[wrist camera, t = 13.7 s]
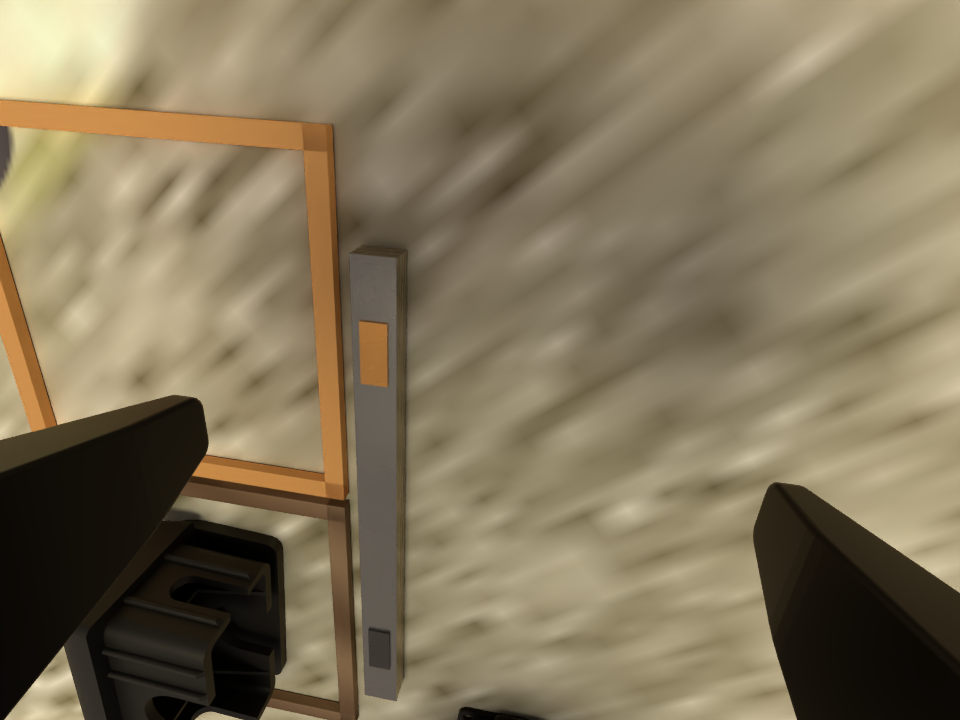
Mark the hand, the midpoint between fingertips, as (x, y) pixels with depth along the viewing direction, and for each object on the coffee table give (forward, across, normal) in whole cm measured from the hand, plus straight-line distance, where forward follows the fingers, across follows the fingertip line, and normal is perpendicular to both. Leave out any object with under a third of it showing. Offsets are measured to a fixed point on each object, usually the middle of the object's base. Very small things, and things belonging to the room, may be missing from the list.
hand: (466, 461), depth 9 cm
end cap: (+11, +14, +18) cm, 25 cm away
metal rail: (+11, +5, +10) cm, 16 cm away
